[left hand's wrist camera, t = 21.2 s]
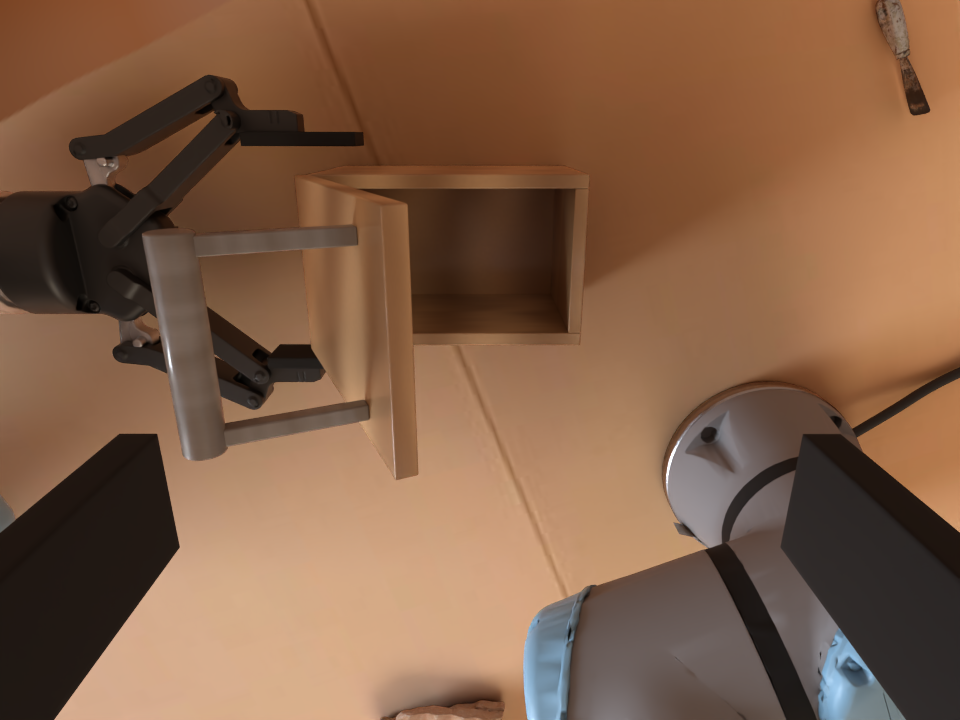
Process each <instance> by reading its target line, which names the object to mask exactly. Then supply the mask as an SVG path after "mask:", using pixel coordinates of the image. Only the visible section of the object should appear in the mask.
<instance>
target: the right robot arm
mask: <svg viewBox="0 0 960 720" xmlns="http://www.w3.org/2000/svg"><path fill="white" fill-rule="evenodd" d="M213 111H215V112H214V113H215V114H216V116H215V117H214V118H213V119H212V120H211V121H210V122H209V123H208V125H207V126H206V127H205V128H204V129H203V130H202V131H201V132H200V133H199V134H198V135H197V136H196V137H195V138H194V139H193V140H192V141H191V142H190V143H189V144H188V145H187V146H186V147H185V148H184V149H183V150H182V151H181V152H180V153H179V154H178V155H177V156H176V157H175V158H174V159H173V161H172V162H171V163H170V164H169V165H168V166H167V167H166V168H165V169H164V170H163V171H162V172H161V173H160V174H159V175H158V176H157V177H156V178H155V179H154V180H153V181H152V182H151V183H150V184H149V185H148V186H146V187H145V188H143V189H141V190H140V191H139V192H138V193H137V194H136V195H135V194H133V193H132V192H130V191H129V190H127V189H126V188H124V187H123V186H121V185H119V184H116V182H115V176H116V174H117V173H118V172H119V171H122V170H124V169H125V168H126V166H127V164H128V158H127V157H126V156H130V155H134V154H137V153H140V152H142V151H144V150H146V149H148V148H150V147H151V146H153V145H155V144H157V143H158V142H160V141H162V140H164V139H165V138H167V137H169V136H171V135H172V134H174V133H176V132H178V131H179V130H181V129H183V128H185V127H186V126H188V125H190V124H192V123H193V122H195V121H197V120H199V119H200V118H202V117H204V116H206V115H207V114H209V113H211V112H213ZM239 141H241V146H363V145H364V139H363V132H305V131H304V120H303V115H302V114H300V113H297V112H295V111H289V110H249V109H247V108H246V107H245V106H244V105H243V104H242V102H241V100H240V98H239V96H238V88H237V86H236V84H235V83H234V81H232V80H230V79H227V78H223V77H218V76H214V75H206V76H204V77H202V78H200V79H199V80H197V81H195V82H194V83H192V84H190V85H189V86H187V87H185V88H183V89H182V90H180V91H178V92H177V93H175V94H173V95H171V96H170V97H168V98H166V99H165V100H163V101H161V102H159V103H158V104H156V105H154V106H153V107H151V108H149V109H148V110H146V111H144V112H142V113H141V114H139V115H137V116H136V117H134V118H132V119H130V120H129V121H127V122H125V123H124V124H122V125H120V126H118V127H117V128H115V129H113V130H112V131H110V132H108V133H107V134H105V135H97V136H88V137H80V138H75V139H72V140H71V142H70V144H69V150H70V152H71V154H72V155H73V156H74V157H75V158H77V159H79V160H83V161H84V164H85V167H86V170H87V173H88V177H89V180H90V183H91V187H89V188H88V189H86V190H84V191H23V192H16V193H11V192H8V191H0V314H24V313H28V312H30V313H35V314H105V315H108V316H111V317H113V318H115V319H117V320H119V330H120V341H121V343H120V344H119V345H117V346H116V347H114V349H113V356H114V358H115V359H116V360H117V361H119V362H122V363H129V364H139V365H148V366H151V367H154V368H156V369H158V370H161V371H163V372H165V373H167V368H166V363H165V357H164V352H163V347H162V341H161V336H159V334H160V333H159V331H158V330H157V329H153V328H150V327H148V326H146V325H145V324H144V323H143V321H142V319H141V316H143V315H145V314H146V313H148V312H149V313H150V314H152V315H153V316H155V317H156V318H157V314H156V309H155V304H154V298H153V293H152V288H151V282H150V277H149V271H148V266H147V261H146V255H145V250H144V245H143V239H142V233H144V232H146V231H151V230H158V229H171V228H178V227H174V224H173V223H172V221H171V220H170V219H169V218H168V215H169V214H170V213H171V212H172V211H173V210H174V209H175V208H176V207H177V206H178V205H179V204H180V203H181V202H182V200H183V197H184V196H185V195H186V194H187V193H188V192H189V191H190V190H191V189H192V188H193V187H194V186H195V185H196V184H197V183H198V182H199V181H200V180H201V179H202V178H203V177H204V176H205V175H206V174H207V173H208V172H209V171H210V170H211V169H212V168H213V167H214V166H215V165H216V164H217V163H218V162H219V161H220V160H221V159H222V158H223V157H224V156H225V155H226V154H227V153H228V152H229V151H230V150H231V149H232V148H233V147H234V146H235V145H236V144H237V143H238V142H239ZM207 312H208V318H209V325H210V331H211V337H212V344H213V350H214V354H215V355H217V356H218V357H219V358H221V359H222V360H221V359H218V358H216V357H215V363H216V369H217V376H218V382H219V388H220V395H221V397H224V398H226V399H228V400H231V401H233V402H235V403H238V404H240V405H242V406H245V407H247V408H249V409H253V410H255V409H259V408H260V407H261V406H262V405H263V403H264V402H265V401H266V400H267V399H268V397H269V396H270V395H271V393H272V392H273V390H274V387H273V385H274V383H275V382H315V381H317V380H320V379H321V378H322V377H323V375H324V373H325V372H326V371H325V369H324V367H323V366H322V364H321V363H320V361H319V360H318V358H317V357H316V355H315V353H314V352H313V350H312V349H311V345H306V344H280V345H279V346H278V347H277V348H276V349H275V350H274V351H273V352H272V353H270V352H269V351H268V350H266V349H265V348H264V347H262V346H261V345H259V344H258V343H257V342H255V341H254V340H253V339H251V338H250V337H248V336H247V335H246V334H244V333H243V332H242V331H240V330H239V329H237V328H236V327H235V326H233V325H232V324H231V323H229V322H228V321H226V320H225V319H224V318H222V317H221V316H220V315H218V314H217V313H215V312H214V311H213V310H211V309H210V308H209V307H207ZM223 360H224V361H223ZM14 521H15V515H14V513H13V510H12V509H11V507H10V506H9V505H8V504H7V502H6V501H5V500H4V499H3V497H2V496H1V495H0V533H1V532H2V531H3V530H4V529H5V528H7V527H8V526H9V525H10V524H11V523H13V522H14Z"/></svg>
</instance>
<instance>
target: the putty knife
mask: <svg viewBox="0 0 960 720" xmlns="http://www.w3.org/2000/svg"><path fill="white" fill-rule="evenodd" d="M876 14H877V18H878V21H879V24H880V27H881V29H882V31H883V34H884V36H885V38H886V40H887V42H888V44H889V46H890V48H891V50H892V52H893V53H894V55H895V57H896V59H900V66H901V72H902V78H903V84H904V88H905V93H906V98H907V102H908V106H909V109H910V113H911V114H912V115H920V114H926V113H928V112H930V108H929V105H928V103H927V101H926V98H925V95H924V93H923V90H922V88H921V86H920V83H919V81H918V78H917V76H916V74H915V72H914V70H913V68H912V66H911V64H910V62H909V59H908V57H907V56H908V55H910V49H909V38H908V32H907V26H906V21H905V16H904V13H903V9H902V6H901V3H900V0H878V1H877V3H876Z"/></svg>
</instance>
